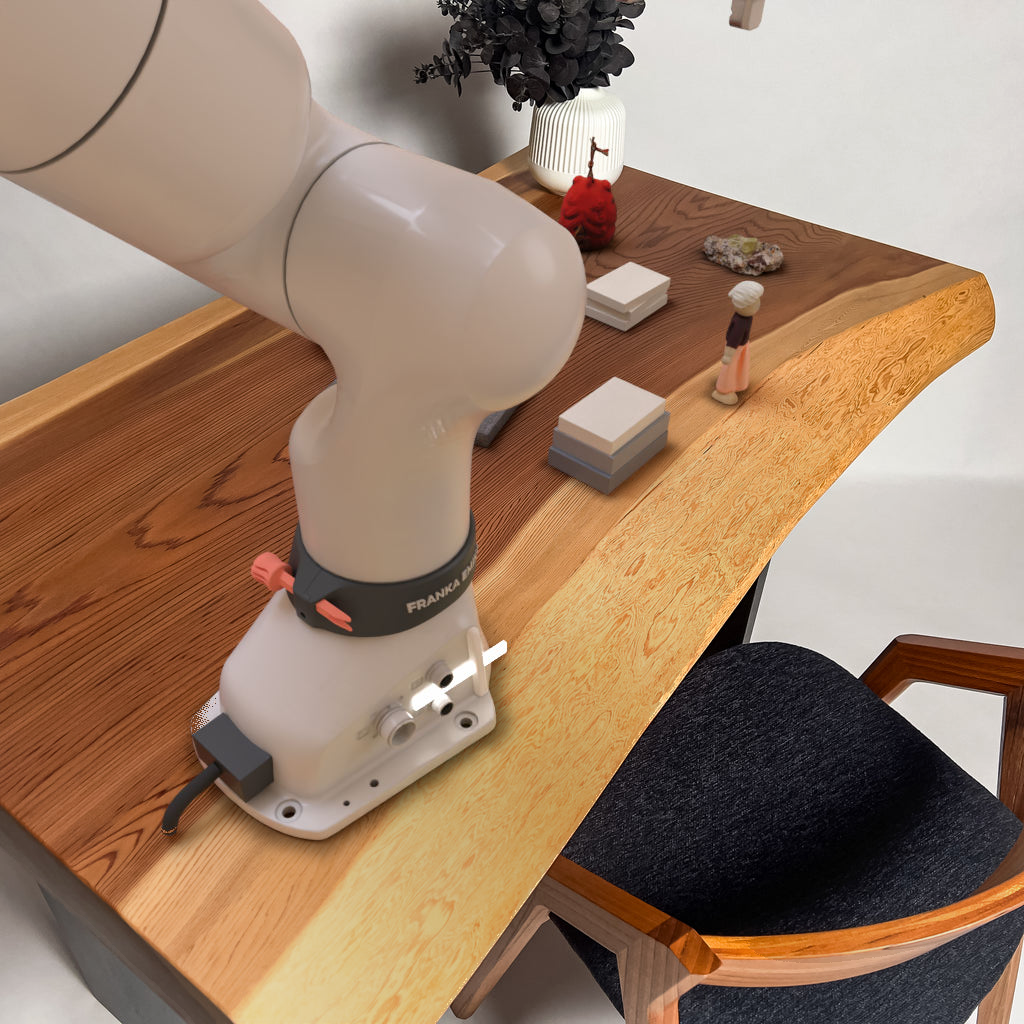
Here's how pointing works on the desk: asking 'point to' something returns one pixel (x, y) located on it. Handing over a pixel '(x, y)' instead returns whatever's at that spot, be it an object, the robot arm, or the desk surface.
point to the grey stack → (607, 456)
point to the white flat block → (611, 415)
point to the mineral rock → (743, 254)
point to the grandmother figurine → (738, 342)
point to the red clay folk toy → (590, 208)
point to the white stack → (626, 295)
